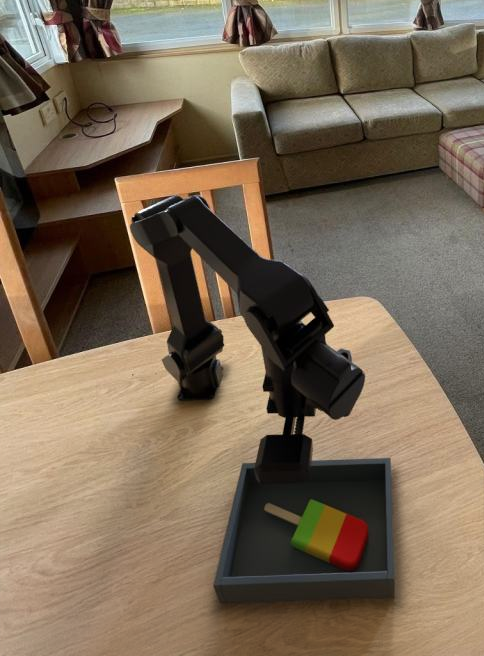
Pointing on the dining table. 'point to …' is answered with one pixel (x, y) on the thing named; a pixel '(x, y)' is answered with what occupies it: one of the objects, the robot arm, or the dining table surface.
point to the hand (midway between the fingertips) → (299, 441)
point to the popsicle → (327, 534)
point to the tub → (276, 533)
